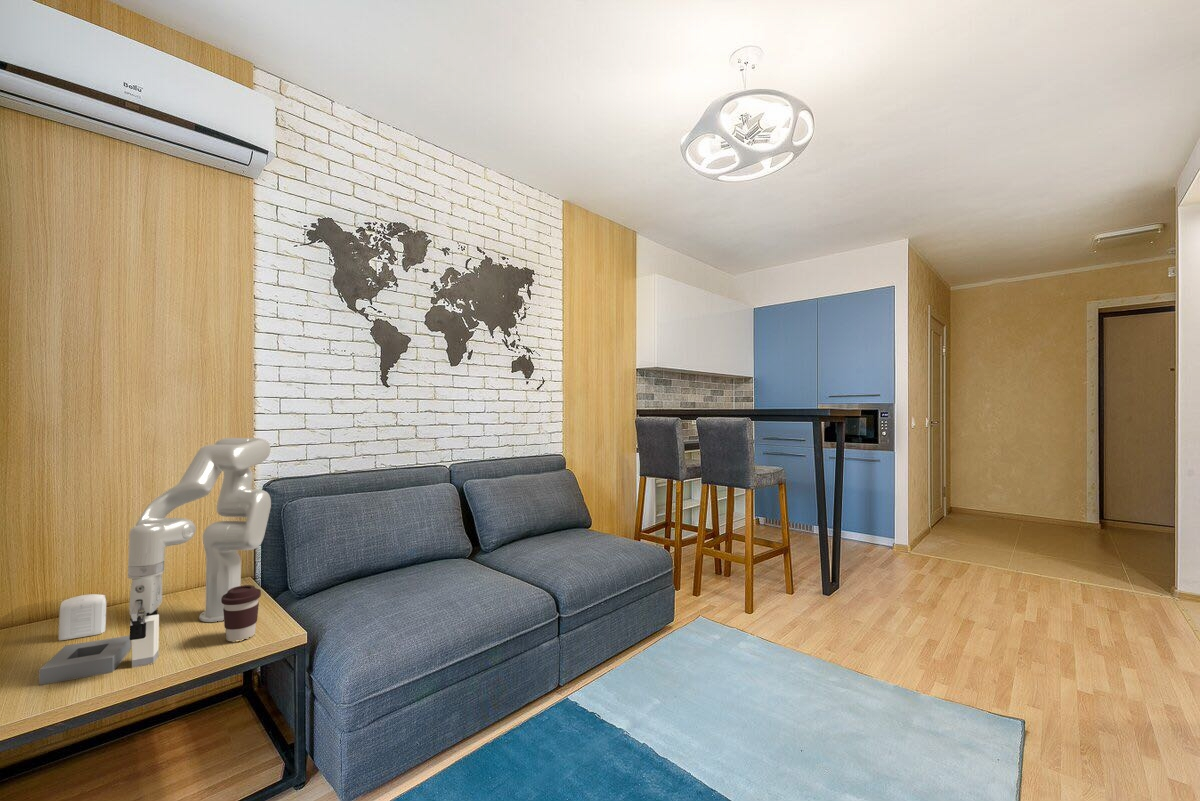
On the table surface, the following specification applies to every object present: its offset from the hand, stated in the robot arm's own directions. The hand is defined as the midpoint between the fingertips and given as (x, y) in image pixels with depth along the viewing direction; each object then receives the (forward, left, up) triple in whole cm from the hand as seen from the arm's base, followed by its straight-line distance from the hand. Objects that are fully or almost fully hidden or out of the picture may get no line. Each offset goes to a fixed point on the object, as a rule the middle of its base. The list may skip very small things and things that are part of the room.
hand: (143, 631), depth 139 cm
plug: (0, -1, -9) cm, 9 cm away
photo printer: (+22, -29, -9) cm, 37 cm away
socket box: (+13, -5, -9) cm, 16 cm away
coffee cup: (-21, -7, -9) cm, 24 cm away
